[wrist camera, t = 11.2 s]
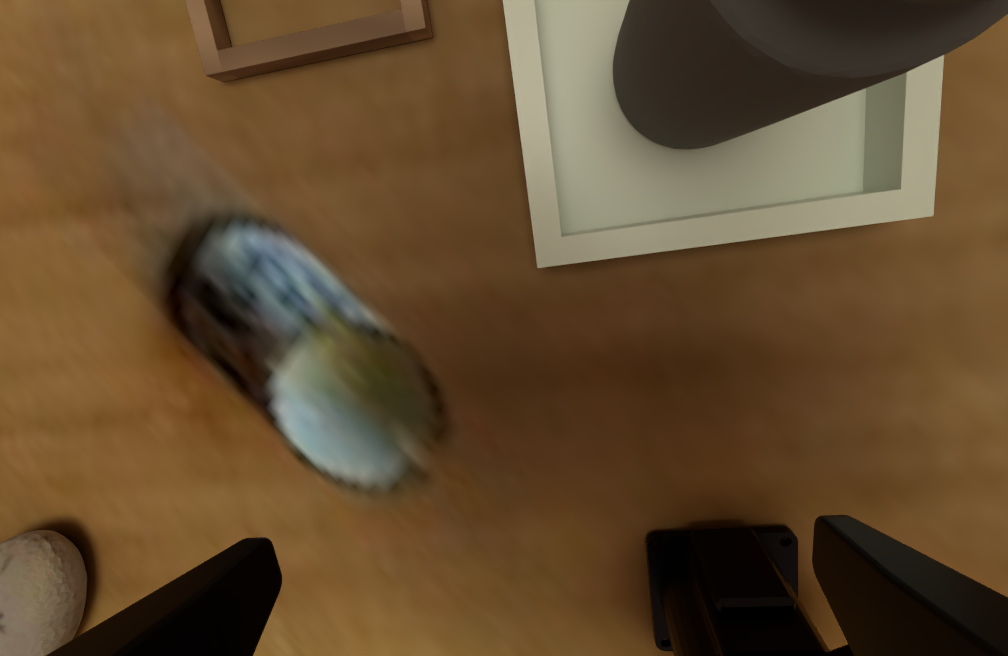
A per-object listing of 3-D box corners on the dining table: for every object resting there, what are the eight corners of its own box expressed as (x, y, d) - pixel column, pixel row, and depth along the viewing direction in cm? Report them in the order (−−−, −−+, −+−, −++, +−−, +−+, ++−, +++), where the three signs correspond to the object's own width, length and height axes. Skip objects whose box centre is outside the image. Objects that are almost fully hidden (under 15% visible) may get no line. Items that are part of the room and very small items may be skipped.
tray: (883, 214, 18) (933, 215, 15) (540, 260, 20) (537, 268, 17) (900, -209, 15) (966, -289, 12) (493, -105, 17) (482, -157, 14)
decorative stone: (-25, 655, 31) (-95, 709, 27) (28, 482, 26) (-48, 522, 23) (58, 701, 31) (-2, 760, 28) (124, 537, 27) (63, 584, 23)
